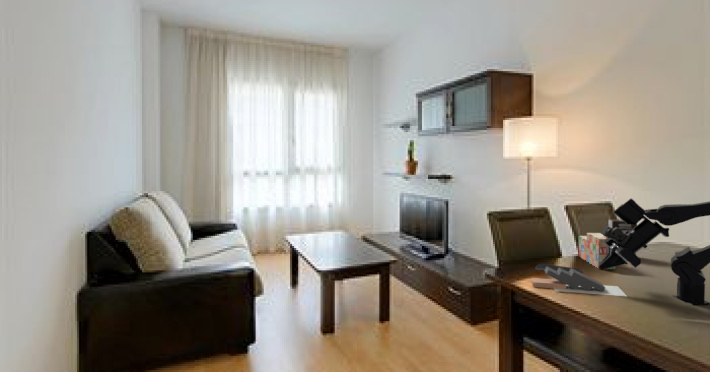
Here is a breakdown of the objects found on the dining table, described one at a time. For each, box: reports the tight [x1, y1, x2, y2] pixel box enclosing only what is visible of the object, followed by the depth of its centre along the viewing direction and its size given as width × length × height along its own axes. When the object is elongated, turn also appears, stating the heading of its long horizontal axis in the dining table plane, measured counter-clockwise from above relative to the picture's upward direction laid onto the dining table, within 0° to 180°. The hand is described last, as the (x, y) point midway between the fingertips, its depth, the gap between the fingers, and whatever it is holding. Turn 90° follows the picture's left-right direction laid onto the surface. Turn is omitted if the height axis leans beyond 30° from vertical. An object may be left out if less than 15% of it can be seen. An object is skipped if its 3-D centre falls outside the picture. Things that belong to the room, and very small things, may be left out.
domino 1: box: [544, 266, 579, 289], centre depth 133 cm, size 2×5×10 cm
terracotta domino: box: [531, 277, 566, 289], centre depth 134 cm, size 2×5×10 cm
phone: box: [534, 263, 582, 273], centre depth 154 cm, size 8×1×15 cm
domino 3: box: [569, 267, 605, 292], centre depth 130 cm, size 2×5×10 cm
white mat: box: [553, 284, 627, 297], centre depth 130 cm, size 20×10×1 cm, turn 71°
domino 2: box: [557, 267, 592, 291], centre depth 131 cm, size 2×5×10 cm
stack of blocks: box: [577, 232, 617, 270], centre depth 164 cm, size 21×6×12 cm, turn 170°
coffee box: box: [607, 218, 638, 255], centre depth 171 cm, size 9×6×16 cm
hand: (599, 268), depth 129 cm, fingers closed
